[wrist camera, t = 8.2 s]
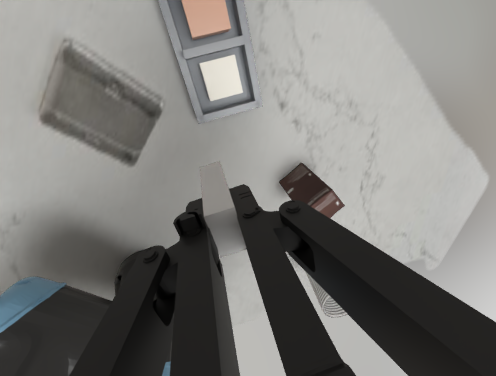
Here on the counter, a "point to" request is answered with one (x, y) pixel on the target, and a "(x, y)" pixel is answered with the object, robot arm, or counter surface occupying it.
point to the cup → (326, 300)
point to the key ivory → (221, 77)
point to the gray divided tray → (211, 49)
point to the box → (311, 191)
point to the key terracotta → (206, 17)
